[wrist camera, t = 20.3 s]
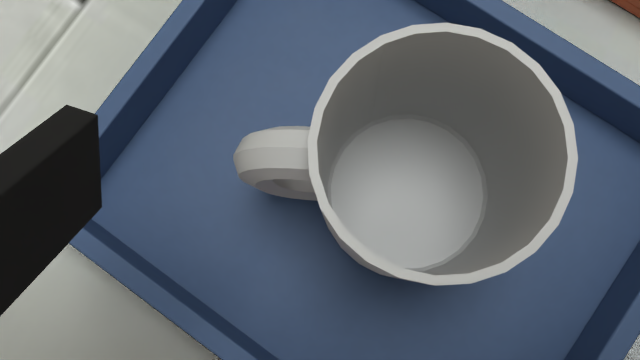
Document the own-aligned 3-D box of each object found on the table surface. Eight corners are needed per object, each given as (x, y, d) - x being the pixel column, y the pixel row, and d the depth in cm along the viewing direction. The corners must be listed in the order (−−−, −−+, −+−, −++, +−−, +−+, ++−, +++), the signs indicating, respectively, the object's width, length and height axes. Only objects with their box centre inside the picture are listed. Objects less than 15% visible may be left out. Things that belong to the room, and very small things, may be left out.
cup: (489, 286, 23) (576, 296, 15) (248, 267, 24) (192, 266, 15) (494, 115, 25) (579, 29, 16) (263, 101, 25) (220, 10, 16)
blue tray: (701, 169, 24) (752, 154, 21) (474, 528, 23) (495, 568, 20) (292, -89, 27) (285, -135, 24) (60, 215, 25) (20, 207, 22)
